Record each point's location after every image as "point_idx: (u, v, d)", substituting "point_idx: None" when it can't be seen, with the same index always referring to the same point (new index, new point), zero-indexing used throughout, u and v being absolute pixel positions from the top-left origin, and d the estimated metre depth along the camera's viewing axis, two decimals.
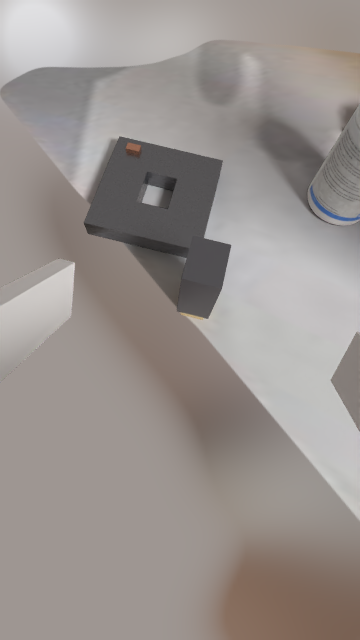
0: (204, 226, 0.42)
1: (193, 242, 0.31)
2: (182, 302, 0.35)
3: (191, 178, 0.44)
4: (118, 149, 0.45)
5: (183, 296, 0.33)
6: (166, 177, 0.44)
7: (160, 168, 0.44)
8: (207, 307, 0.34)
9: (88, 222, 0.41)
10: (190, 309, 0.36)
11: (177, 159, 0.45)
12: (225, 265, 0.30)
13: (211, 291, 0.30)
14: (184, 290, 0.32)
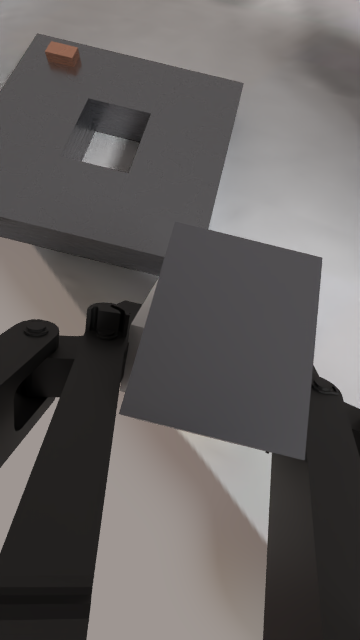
0: (208, 210, 0.19)
1: (177, 246, 0.08)
2: None
3: (180, 113, 0.21)
4: (32, 56, 0.22)
5: None
6: (128, 111, 0.21)
7: (117, 93, 0.22)
8: (222, 440, 0.12)
9: None
10: None
11: (151, 78, 0.22)
12: (309, 344, 0.07)
13: None
14: None
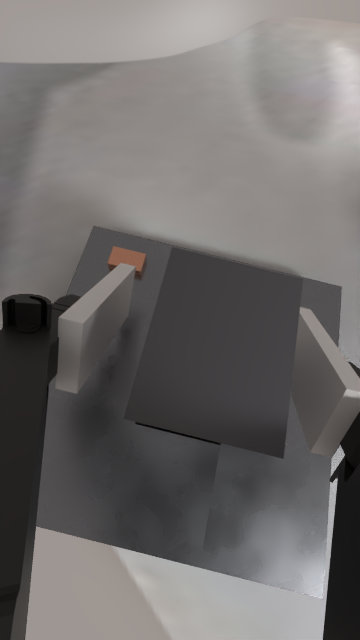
0: (323, 501, 0.15)
1: (174, 269, 0.09)
2: None
3: None
4: (90, 262, 0.18)
5: None
6: None
7: None
8: None
9: None
10: None
11: None
12: (290, 357, 0.08)
13: None
14: None
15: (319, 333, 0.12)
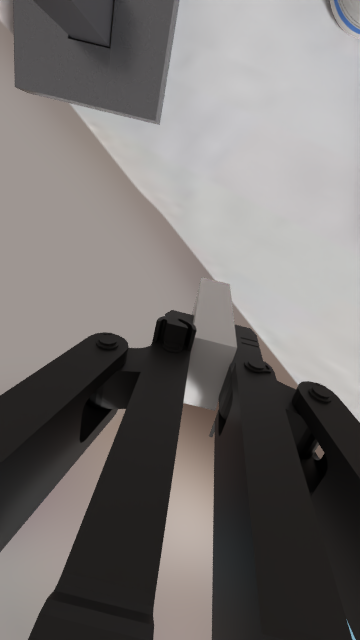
0: (159, 77, 0.32)
1: None
2: (63, 25, 0.29)
3: None
4: None
5: (53, 16, 0.27)
6: None
7: None
8: (91, 30, 0.28)
9: (20, 85, 0.34)
10: (80, 34, 0.30)
11: None
12: None
13: (68, 6, 0.24)
14: (44, 7, 0.26)
15: (222, 301, 0.13)
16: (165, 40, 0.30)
